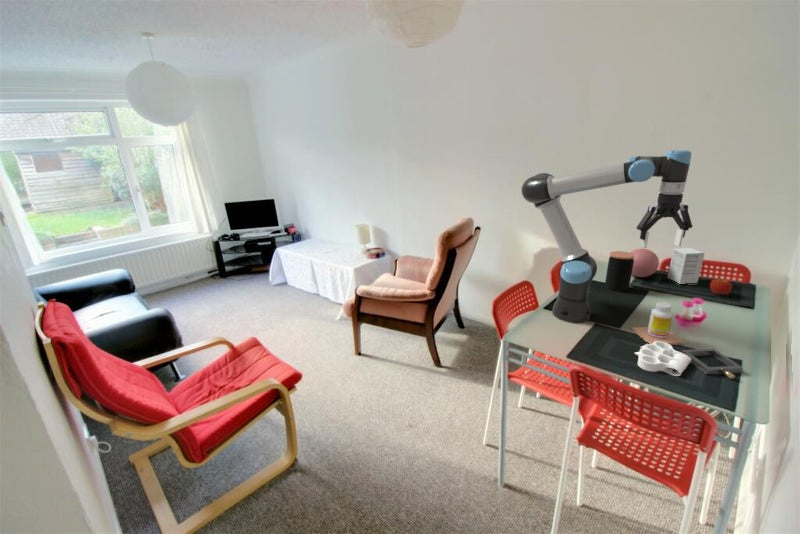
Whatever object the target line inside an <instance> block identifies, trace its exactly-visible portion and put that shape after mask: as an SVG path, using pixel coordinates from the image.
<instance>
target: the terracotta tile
mask: <svg viewBox="0 0 800 534" xmlns="http://www.w3.org/2000/svg"><path fill="white" fill-rule="evenodd" d="M631 330H632V331H633V332H634V333H635V334H636V335H638V337H640V338H641V339H642V338H643V340H644V341H645V342H646V343H647V342H648V343H649V344H652V343H653V342H654V341H661V342H665V343H668V344H670V345H671V346H679V345H681V346H682V345H684V344H685V341H684V340H682V339H680V338H679V337H678V336H677V335H675V334H674V333H672V332H671V331H669V333H668V336H667V337H666V338H656V337H653V336H651V335H649V334H648V332H647V330H648V326H639V327H637V326H636V327H635V326H634V327H632V328H631ZM648 343H647V344H648Z"/></svg>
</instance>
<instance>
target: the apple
mask: <svg viewBox="0 0 800 534" xmlns="http://www.w3.org/2000/svg"><path fill="white" fill-rule="evenodd" d="M709 288H710V291H711V293H713V292H714V293H717V294H726V295H728V294H729V293H730V292H732V290H733V284H732V283H731V282H730V280H727V279H723V278H714V279H712V280H711V281H710V284H709ZM714 293H713V294H714Z"/></svg>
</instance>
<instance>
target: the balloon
mask: <svg viewBox="0 0 800 534" xmlns="http://www.w3.org/2000/svg"><path fill="white" fill-rule="evenodd" d="M629 253H632V254H634V255H635V257H634V258H633V260H634V264H633V269H632V275H631V276H634V277H637V278H646V277H649V276H652V275H653V274H655V273H656V272H657V270H658V268H659V265H660V260H659V257H658V256H657V254H656V253H655V252H654V251H652V250H650V249H647V248H636V249H634V250H632V251H630V252H629Z"/></svg>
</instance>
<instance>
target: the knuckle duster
mask: <svg viewBox="0 0 800 534" xmlns="http://www.w3.org/2000/svg"><path fill="white" fill-rule="evenodd" d="M639 347H640V349H639V351H637V352H634V354H635V355H636V356H638V359H637V366H638V367H640V368H641V369H642V370H644V371H647V372H654V373H655V372H664V373H666V374H668V375H671V376H675V377H679V376H681V375H682V373H683V372H684V371H685V370H686V369H687V367H688V365H689V364H691V358H690V357H689V356H687V355H685V354H683V353H681V351H678V350H675V349H674V348H673V345H670V344H668V343H665V342H661V341H654V342H653V343H652V344H648V343H646V344H644V345H643V346H639ZM673 369H675V370H677V371H676V373H675V372H672V371H673ZM673 373H674V374H673Z"/></svg>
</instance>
